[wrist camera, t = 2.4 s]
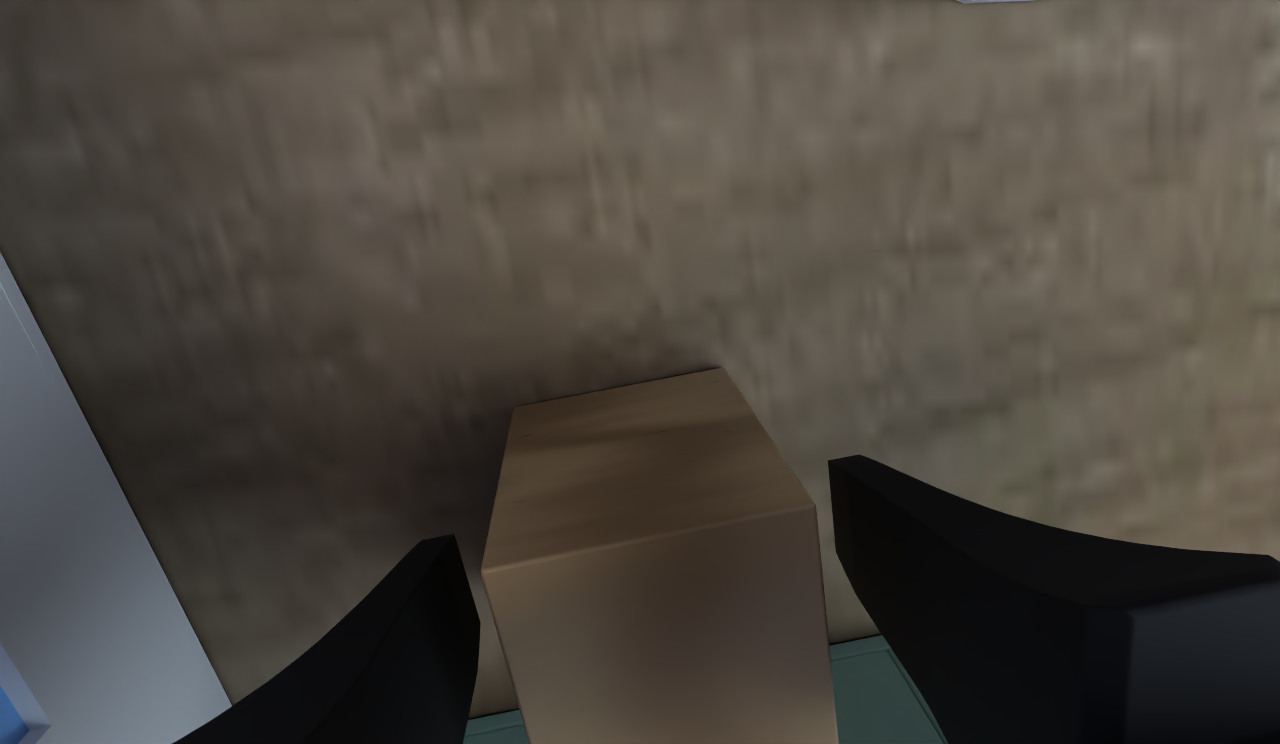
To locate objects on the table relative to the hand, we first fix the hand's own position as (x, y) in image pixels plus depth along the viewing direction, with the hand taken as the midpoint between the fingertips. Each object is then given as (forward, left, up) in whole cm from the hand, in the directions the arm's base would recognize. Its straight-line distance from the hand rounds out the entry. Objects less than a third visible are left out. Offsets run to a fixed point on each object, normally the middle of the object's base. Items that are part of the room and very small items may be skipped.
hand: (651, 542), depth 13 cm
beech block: (0, 0, -3) cm, 3 cm away
